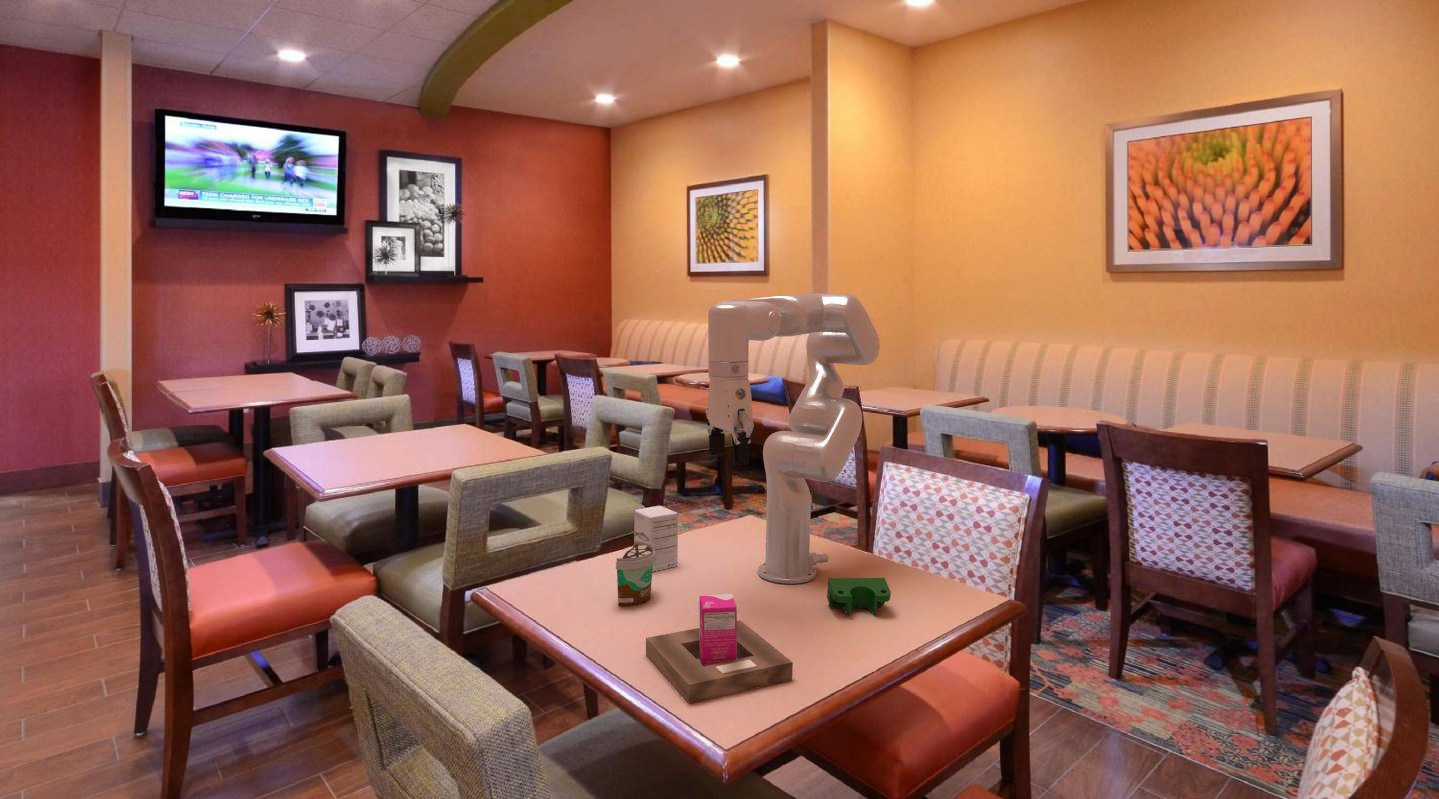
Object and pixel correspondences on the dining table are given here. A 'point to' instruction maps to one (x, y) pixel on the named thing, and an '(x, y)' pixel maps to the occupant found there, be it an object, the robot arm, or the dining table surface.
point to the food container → (635, 574)
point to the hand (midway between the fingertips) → (728, 459)
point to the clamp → (857, 593)
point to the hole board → (706, 682)
